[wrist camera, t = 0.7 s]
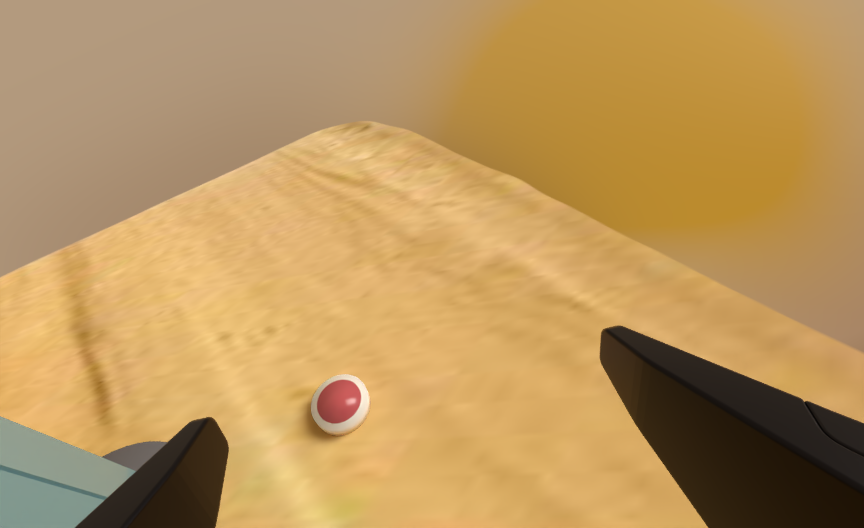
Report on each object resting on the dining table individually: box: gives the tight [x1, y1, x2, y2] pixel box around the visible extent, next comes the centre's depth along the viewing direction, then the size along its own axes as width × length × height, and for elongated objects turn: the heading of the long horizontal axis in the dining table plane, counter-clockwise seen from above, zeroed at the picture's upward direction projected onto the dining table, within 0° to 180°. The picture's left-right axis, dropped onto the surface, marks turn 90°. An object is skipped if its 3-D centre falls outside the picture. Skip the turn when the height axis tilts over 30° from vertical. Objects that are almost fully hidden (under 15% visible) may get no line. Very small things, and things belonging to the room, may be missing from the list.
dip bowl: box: [311, 374, 371, 436], centre depth 25 cm, size 4×4×1 cm
